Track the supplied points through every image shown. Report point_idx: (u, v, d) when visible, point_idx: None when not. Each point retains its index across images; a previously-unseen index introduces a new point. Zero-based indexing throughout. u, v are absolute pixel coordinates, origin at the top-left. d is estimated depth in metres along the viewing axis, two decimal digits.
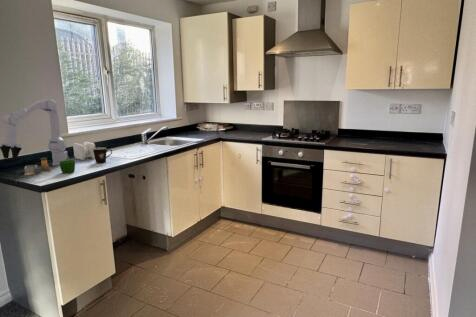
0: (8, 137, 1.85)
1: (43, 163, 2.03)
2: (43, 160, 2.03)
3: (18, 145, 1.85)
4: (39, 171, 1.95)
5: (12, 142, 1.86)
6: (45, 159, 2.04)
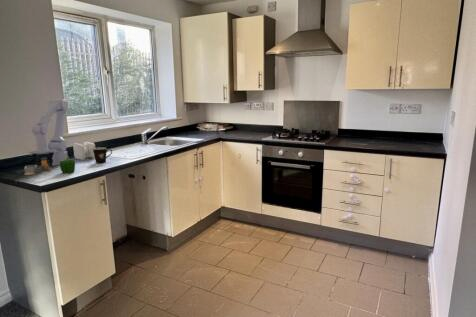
0: (44, 145, 2.01)
1: (43, 163, 2.03)
2: (43, 160, 2.03)
3: (55, 151, 2.06)
4: (39, 171, 1.95)
5: (47, 149, 2.03)
6: (45, 159, 2.04)
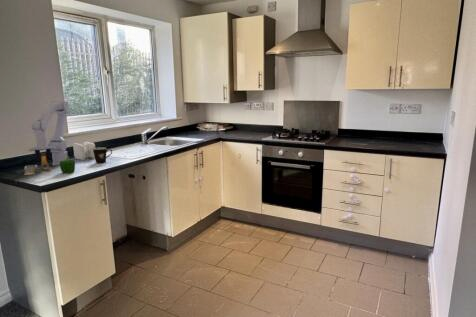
0: (44, 142, 2.00)
1: (42, 159, 2.03)
2: (42, 156, 2.02)
3: (55, 147, 2.06)
4: (39, 171, 1.95)
5: (47, 146, 2.03)
6: (44, 155, 2.03)
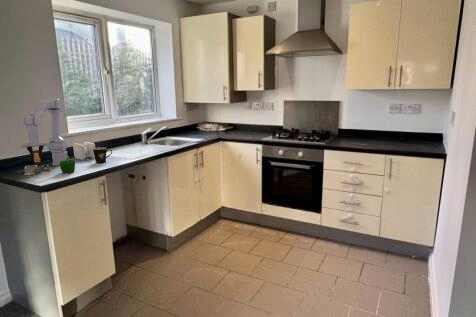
0: (36, 138, 1.91)
1: (35, 156, 1.93)
2: (35, 152, 1.92)
3: (48, 144, 1.96)
4: (39, 171, 1.95)
5: (39, 142, 1.93)
6: (37, 151, 1.93)
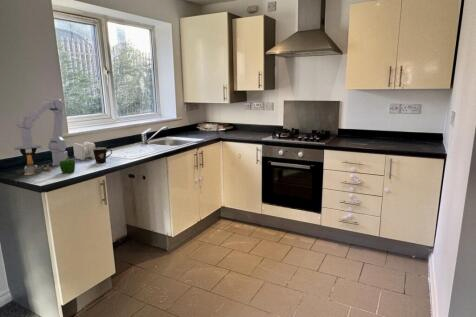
0: (29, 140, 1.94)
1: (28, 158, 1.96)
2: (28, 155, 1.96)
3: (41, 146, 1.99)
4: (39, 171, 1.95)
5: (32, 144, 1.97)
6: (30, 154, 1.97)
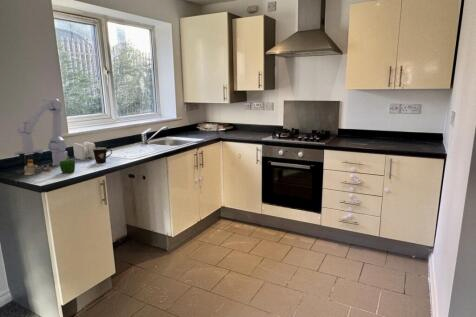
0: (30, 145, 1.95)
1: (29, 166, 1.97)
2: (29, 163, 1.96)
3: (42, 151, 2.00)
4: (39, 171, 1.95)
5: (33, 149, 1.97)
6: (31, 161, 1.97)
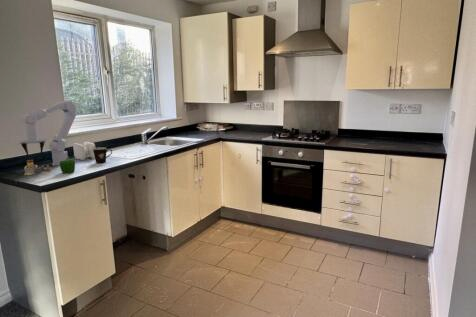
0: (34, 135, 2.02)
1: (29, 165, 1.97)
2: (29, 162, 1.97)
3: None
4: (39, 171, 1.95)
5: (37, 139, 2.05)
6: (31, 161, 1.98)
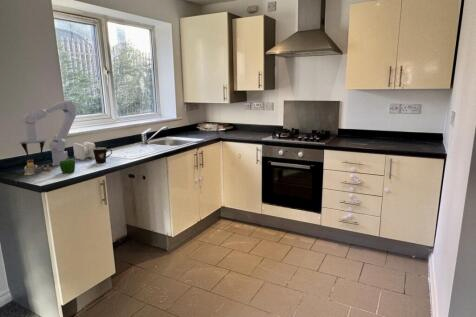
0: (34, 135, 2.02)
1: (29, 165, 1.97)
2: (29, 162, 1.97)
3: None
4: (39, 171, 1.95)
5: (37, 139, 2.05)
6: (31, 161, 1.98)
